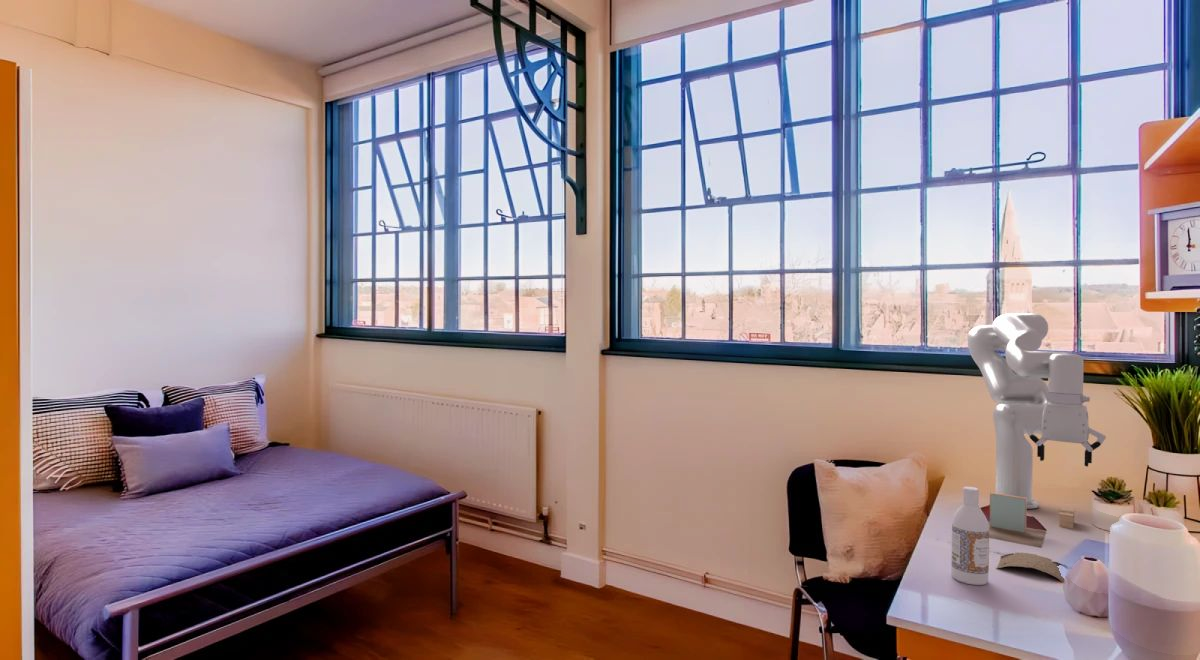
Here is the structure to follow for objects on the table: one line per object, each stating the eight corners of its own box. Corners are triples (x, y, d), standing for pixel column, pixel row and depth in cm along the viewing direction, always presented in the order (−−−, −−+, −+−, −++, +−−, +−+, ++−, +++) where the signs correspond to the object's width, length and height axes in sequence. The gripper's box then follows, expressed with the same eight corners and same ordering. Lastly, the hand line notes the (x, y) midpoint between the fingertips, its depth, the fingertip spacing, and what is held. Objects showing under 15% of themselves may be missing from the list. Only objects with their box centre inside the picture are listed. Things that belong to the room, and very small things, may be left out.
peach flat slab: (990, 525, 168) (990, 492, 168) (1026, 531, 163) (1026, 497, 163) (989, 526, 167) (989, 493, 167) (1025, 533, 162) (1025, 498, 162)
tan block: (1055, 524, 174) (1056, 507, 174) (1078, 528, 171) (1078, 510, 171) (1053, 536, 164) (1053, 517, 164) (1077, 540, 161) (1077, 521, 161)
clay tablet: (1070, 572, 142) (1070, 560, 142) (1071, 587, 134) (1071, 574, 134) (995, 557, 150) (995, 546, 150) (992, 571, 142) (992, 559, 142)
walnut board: (983, 525, 173) (983, 520, 173) (1045, 536, 164) (1045, 530, 164) (974, 540, 160) (974, 534, 160) (1041, 553, 151) (1041, 547, 151)
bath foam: (969, 587, 132) (970, 493, 131) (944, 574, 138) (945, 484, 138) (996, 584, 133) (997, 491, 133) (970, 571, 140) (971, 483, 140)
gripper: (1106, 401, 165) (1105, 465, 165) (1028, 395, 176) (1026, 455, 176) (1106, 403, 159) (1104, 470, 159) (1024, 398, 170) (1023, 460, 171)
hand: (1063, 462), depth 168 cm, fingers open, 9 cm apart
